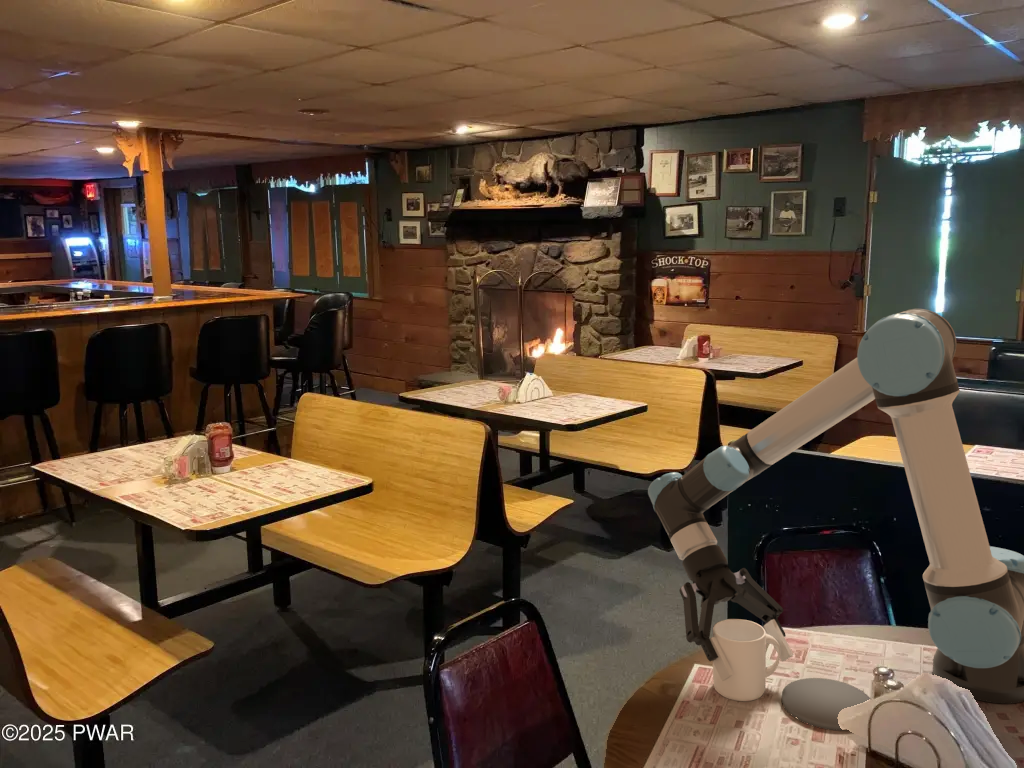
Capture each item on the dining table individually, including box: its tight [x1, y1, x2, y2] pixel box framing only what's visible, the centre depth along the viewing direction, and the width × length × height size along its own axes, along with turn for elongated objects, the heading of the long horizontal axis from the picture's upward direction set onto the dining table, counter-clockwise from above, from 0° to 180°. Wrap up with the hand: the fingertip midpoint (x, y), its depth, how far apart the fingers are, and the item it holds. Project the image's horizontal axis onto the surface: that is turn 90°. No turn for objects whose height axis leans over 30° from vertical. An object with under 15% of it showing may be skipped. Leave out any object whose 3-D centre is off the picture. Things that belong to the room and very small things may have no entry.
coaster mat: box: [781, 677, 872, 732], centre depth 131 cm, size 14×14×1 cm
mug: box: [712, 618, 781, 702], centre depth 137 cm, size 9×12×11 cm
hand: (758, 668), depth 135 cm, fingers open, 12 cm apart
